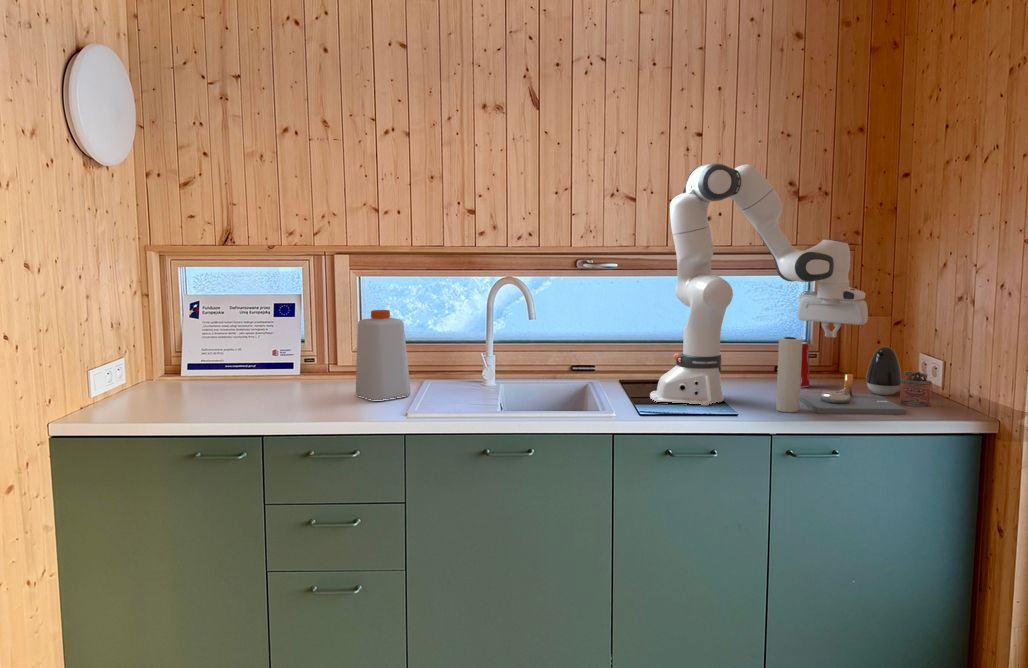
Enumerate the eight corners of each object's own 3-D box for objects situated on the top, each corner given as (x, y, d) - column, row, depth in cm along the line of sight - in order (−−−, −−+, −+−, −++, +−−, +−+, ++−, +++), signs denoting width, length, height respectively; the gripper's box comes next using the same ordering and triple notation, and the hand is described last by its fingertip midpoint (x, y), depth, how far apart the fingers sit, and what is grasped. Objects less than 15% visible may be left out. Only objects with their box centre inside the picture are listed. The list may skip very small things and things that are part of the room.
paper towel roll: (778, 412, 206) (781, 339, 203) (773, 407, 212) (776, 336, 209) (804, 413, 205) (808, 339, 202) (799, 408, 211) (802, 336, 208)
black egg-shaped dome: (859, 393, 230) (861, 346, 227) (872, 388, 236) (875, 343, 234) (892, 398, 222) (895, 350, 220) (905, 393, 229) (909, 346, 227)
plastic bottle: (373, 404, 222) (370, 314, 218) (351, 395, 234) (347, 310, 230) (415, 396, 232) (413, 310, 228) (392, 389, 243) (389, 307, 239)
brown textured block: (930, 404, 214) (932, 371, 212) (929, 407, 211) (932, 373, 209) (899, 402, 218) (901, 369, 216) (898, 404, 215) (900, 371, 213)
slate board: (817, 413, 205) (817, 407, 205) (797, 399, 223) (798, 394, 222) (904, 414, 203) (905, 408, 203) (878, 399, 221) (878, 394, 220)
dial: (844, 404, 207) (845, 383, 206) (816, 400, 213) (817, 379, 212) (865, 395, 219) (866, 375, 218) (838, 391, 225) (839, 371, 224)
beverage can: (810, 388, 237) (813, 343, 235) (790, 388, 239) (792, 343, 237) (807, 384, 243) (809, 341, 241) (787, 384, 244) (788, 340, 242)
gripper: (795, 291, 225) (793, 335, 227) (863, 294, 211) (860, 341, 213) (803, 290, 229) (801, 333, 231) (871, 293, 215) (868, 339, 217)
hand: (830, 337), depth 222 cm, fingers closed
